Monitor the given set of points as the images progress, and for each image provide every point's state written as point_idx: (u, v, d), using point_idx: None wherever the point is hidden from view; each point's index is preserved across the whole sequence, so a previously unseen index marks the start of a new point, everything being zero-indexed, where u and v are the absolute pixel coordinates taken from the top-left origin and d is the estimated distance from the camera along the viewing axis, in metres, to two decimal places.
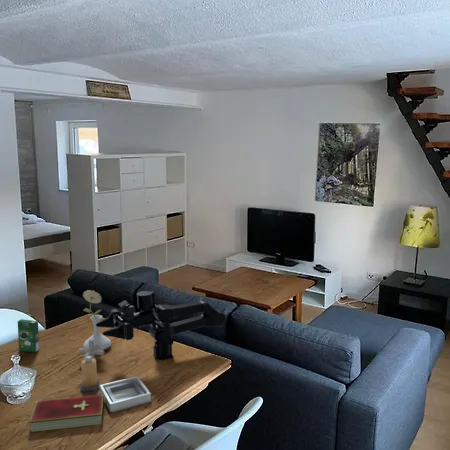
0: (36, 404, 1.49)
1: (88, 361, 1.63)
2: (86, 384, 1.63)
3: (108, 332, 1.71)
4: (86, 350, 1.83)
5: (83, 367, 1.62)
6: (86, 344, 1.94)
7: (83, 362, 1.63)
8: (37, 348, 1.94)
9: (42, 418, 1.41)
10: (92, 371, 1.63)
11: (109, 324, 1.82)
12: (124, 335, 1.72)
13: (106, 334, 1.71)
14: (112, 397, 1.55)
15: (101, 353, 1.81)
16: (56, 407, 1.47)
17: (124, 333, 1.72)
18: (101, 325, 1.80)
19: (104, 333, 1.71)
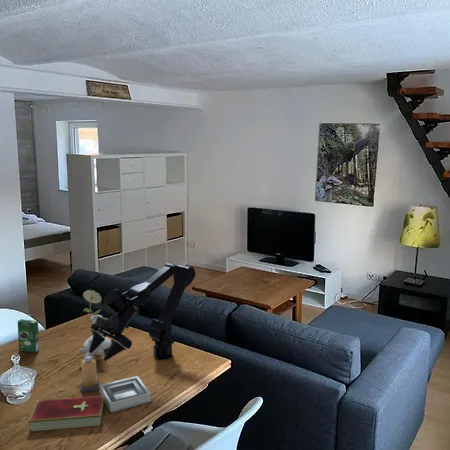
0: (37, 403, 1.49)
1: (88, 361, 1.63)
2: (86, 384, 1.63)
3: (108, 355, 1.64)
4: (86, 350, 1.83)
5: (83, 367, 1.62)
6: (86, 344, 1.94)
7: (83, 362, 1.63)
8: (37, 348, 1.94)
9: (42, 418, 1.42)
10: (92, 371, 1.63)
11: (99, 341, 1.72)
12: (123, 347, 1.65)
13: (107, 358, 1.64)
14: (112, 397, 1.55)
15: (101, 353, 1.81)
16: (56, 407, 1.47)
17: (122, 346, 1.64)
18: (94, 348, 1.71)
19: (105, 359, 1.63)
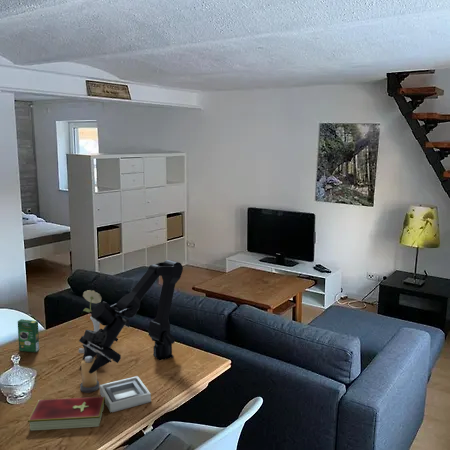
0: (38, 403, 1.50)
1: (88, 361, 1.63)
2: (86, 384, 1.63)
3: (93, 368, 1.62)
4: None
5: (83, 367, 1.62)
6: None
7: (83, 362, 1.63)
8: (37, 348, 1.94)
9: (41, 418, 1.42)
10: None
11: (91, 355, 1.68)
12: (109, 359, 1.63)
13: (92, 370, 1.62)
14: (112, 397, 1.55)
15: None
16: (56, 407, 1.47)
17: (107, 358, 1.63)
18: None
19: (90, 372, 1.62)
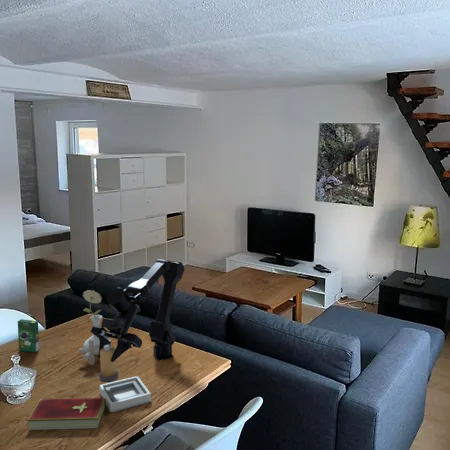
0: (39, 402, 1.50)
1: (108, 350, 1.58)
2: (107, 374, 1.58)
3: (115, 356, 1.57)
4: (86, 350, 1.83)
5: (104, 356, 1.57)
6: (86, 344, 1.94)
7: (102, 351, 1.58)
8: (37, 348, 1.94)
9: (40, 417, 1.42)
10: None
11: None
12: (130, 345, 1.60)
13: (114, 359, 1.57)
14: (112, 397, 1.55)
15: None
16: (56, 407, 1.47)
17: (129, 344, 1.59)
18: None
19: (112, 360, 1.57)
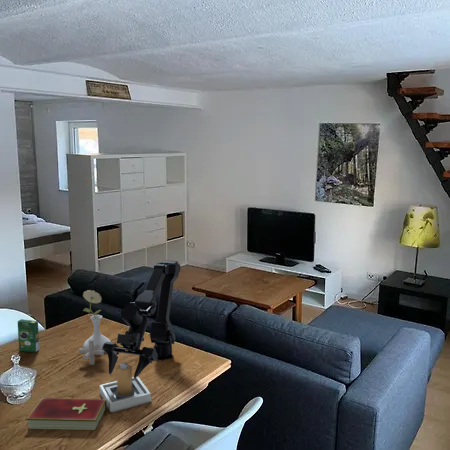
0: (40, 401, 1.51)
1: (125, 367, 1.57)
2: (125, 392, 1.57)
3: (138, 372, 1.56)
4: (86, 350, 1.83)
5: (122, 375, 1.56)
6: (86, 344, 1.94)
7: (119, 370, 1.57)
8: (37, 348, 1.94)
9: (39, 417, 1.42)
10: (130, 377, 1.58)
11: (115, 360, 1.62)
12: (151, 360, 1.60)
13: (137, 375, 1.56)
14: (112, 397, 1.55)
15: (101, 353, 1.81)
16: (56, 407, 1.47)
17: (150, 359, 1.59)
18: (112, 368, 1.60)
19: (135, 376, 1.56)
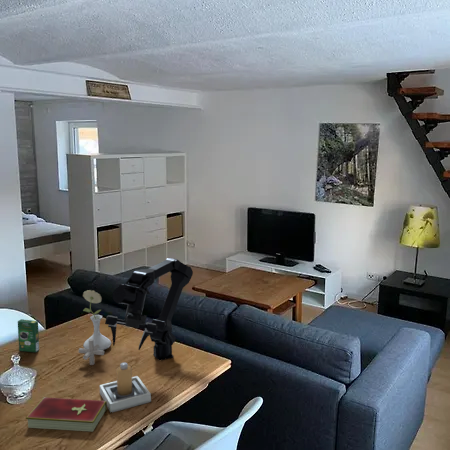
0: (42, 400, 1.51)
1: (125, 368, 1.57)
2: (125, 392, 1.57)
3: None
4: (86, 350, 1.83)
5: (122, 375, 1.56)
6: (86, 344, 1.94)
7: (119, 370, 1.57)
8: (37, 348, 1.94)
9: (38, 416, 1.43)
10: (130, 377, 1.58)
11: None
12: None
13: (140, 347, 1.72)
14: (112, 397, 1.55)
15: (101, 353, 1.81)
16: (56, 407, 1.47)
17: None
18: None
19: None
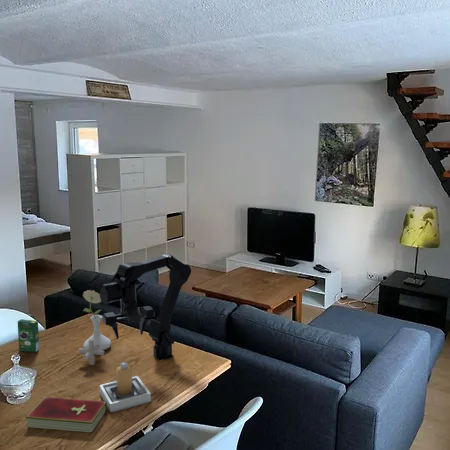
0: (42, 400, 1.51)
1: (125, 368, 1.57)
2: (125, 392, 1.57)
3: None
4: (86, 350, 1.83)
5: (122, 375, 1.56)
6: (86, 344, 1.94)
7: (119, 370, 1.57)
8: (37, 348, 1.94)
9: (38, 416, 1.43)
10: (130, 377, 1.58)
11: None
12: None
13: None
14: (112, 397, 1.55)
15: (101, 353, 1.81)
16: (56, 407, 1.48)
17: None
18: None
19: None
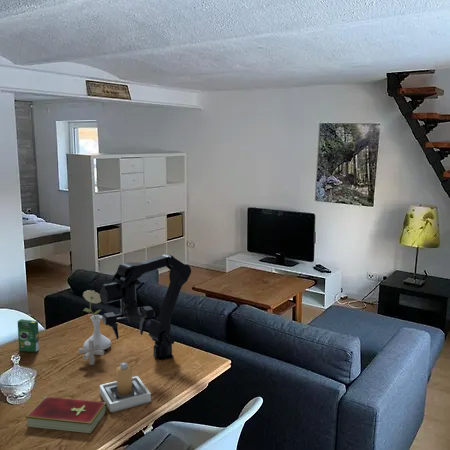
0: (43, 399, 1.52)
1: (125, 367, 1.57)
2: (125, 392, 1.57)
3: None
4: (86, 350, 1.83)
5: (122, 375, 1.56)
6: (86, 344, 1.94)
7: (119, 370, 1.57)
8: (37, 348, 1.94)
9: (38, 415, 1.43)
10: (130, 377, 1.58)
11: None
12: None
13: None
14: (112, 397, 1.55)
15: (101, 353, 1.81)
16: (56, 407, 1.48)
17: None
18: None
19: None
